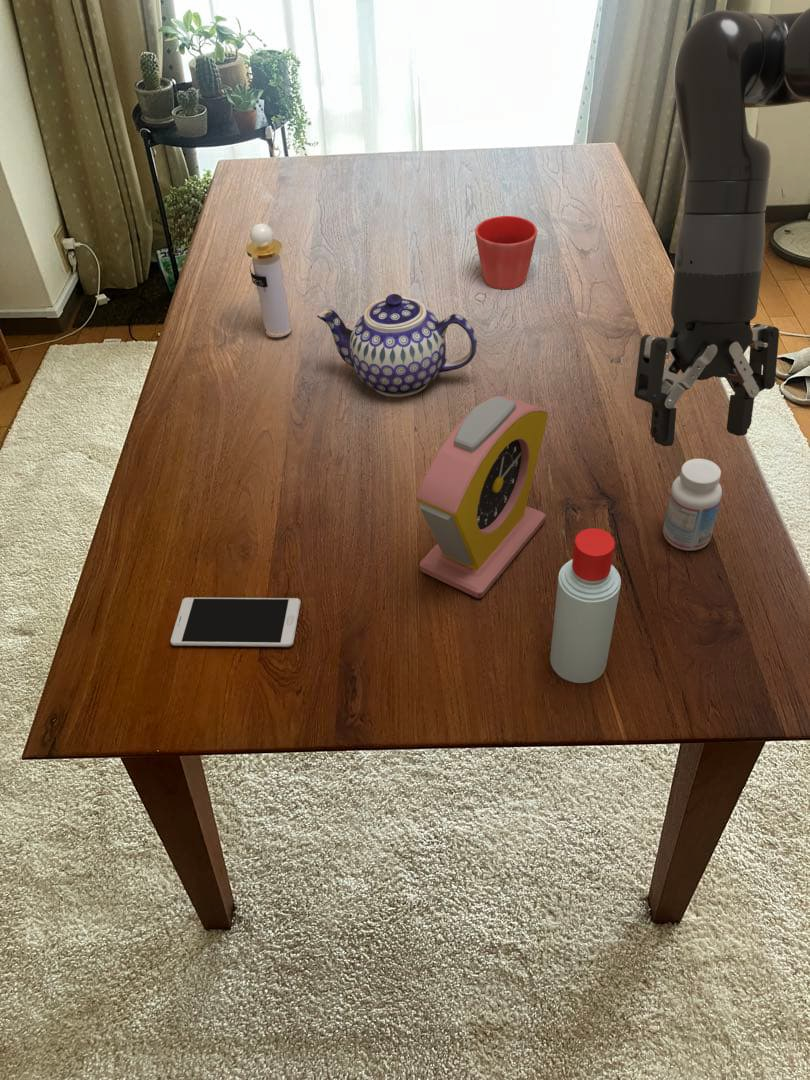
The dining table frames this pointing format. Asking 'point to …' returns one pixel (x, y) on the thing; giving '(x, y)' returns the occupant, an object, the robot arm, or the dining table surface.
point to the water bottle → (583, 624)
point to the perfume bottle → (269, 279)
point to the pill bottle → (693, 505)
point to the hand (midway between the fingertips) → (700, 438)
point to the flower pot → (505, 250)
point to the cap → (593, 554)
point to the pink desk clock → (482, 494)
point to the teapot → (397, 345)
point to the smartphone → (236, 622)
